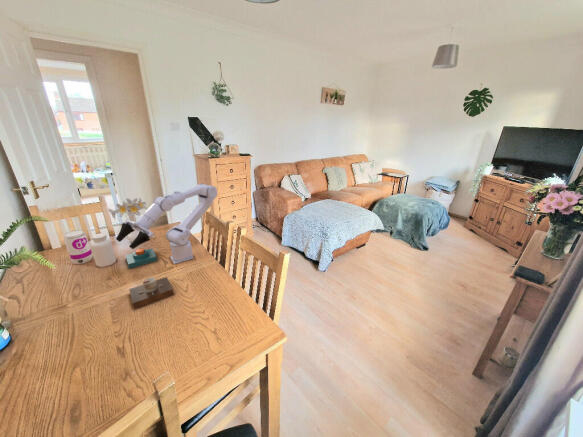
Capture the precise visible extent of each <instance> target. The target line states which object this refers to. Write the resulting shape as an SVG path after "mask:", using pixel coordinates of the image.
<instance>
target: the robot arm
mask: <svg viewBox="0 0 583 437" xmlns="http://www.w3.org/2000/svg"><path fill="white" fill-rule="evenodd" d="M195 196H197V198H198V200H199V203H198V204H197V205H196V206H195V207H194V208H193V209H192V210H191V212H189V214H188V215H187V216H186V217H185V218H184V219H183V220H182V221H181V223H180V224H179V223H178V224H176V225H174V226H173V227H172V228H170V229H168V230H167V231H166V234H165V239H166V240H167V241H168V242H169V247H170V252H171V256H169V258H170V260H171V261H172V263H173V264H174V265H176V264H179V263H183V262H187V261H189V260H193V259H194V254H193V247H192V243H191V241H190V240H189V239H190V237H191V235H192V234H191V230H192V229H193V227H194V226H195V225H196V224H197V223H198V222H199V220H200V219H201V218H202V217H203V216H204V215H205V213H206V212H207V211H209V209H210V208H211V206H212V204H213V202H214V200H215V199H216V198H217V197H218V189H217V187H216V186H215V185H209V184H204V183H199V184H196V185H195V186H193V187H191V188H189V189H187V190H184V191H179V190H174V191H173V193H170V194H165V195H164V196H158V197H154V198H153V200H152V204H151V205H150V206H149V207H148V210H147V209H146V210H145V212H144V213H143V214H142V215H140V216H139V218H138V219H136V222H133V221H130V220H129V218H128V219H126V220H125V221H124V222H122V224H121V228H120V230H119V232H118V234H117V236H116V237H115V240H116V241H117V242H119V243H120V242H122V241H123V240H124V239H126V238H127V235H128V234H130V233H131V232H133V231H135V230H134V229H136V230H138V231H140V232H139V234H138V236H137V237H136V239H135V240H134V241H133V242H131V243H130V245H129V248H130V249H131V250H134V249H136V248H137V247H139V246H140V245H142V244H145V243H146V242H150V241H151V239H152V238H153V237H154V236H155V233H154V232H153V231H151V230H150V229H151V228H152V226H153V225H154V224H155V223H156V222H157V221H158V220H159V219H160V218H161V217H162V216H163V215H164V214H165V212H170V211H172V210H173V208H174V207H175V206H178V205H181V204H183V203H185V201H186V199H189V198H192V197H195ZM132 228H134V229H132ZM137 228H138V229H137ZM139 229H140V230H139Z"/></svg>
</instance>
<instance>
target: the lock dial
mask: <svg viewBox="0 0 583 437" xmlns="http://www.w3.org/2000/svg"><path fill="white" fill-rule="evenodd" d="M156 280H157V279H156V278H155V277H147V278H146V279H144V280H143V281H142V285H144V289H145V292H148V293H149V292H153V291H155V290H156V289H157V284H156Z"/></svg>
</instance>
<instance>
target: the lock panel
mask: <svg viewBox="0 0 583 437" xmlns="http://www.w3.org/2000/svg"><path fill="white" fill-rule="evenodd" d="M156 284H157V289H156V290H155V291H153V292H149V293H148V292H145V289H144V285H143V284H140V285H137V286H135V287H132V288H129V289H128V290H129V295H130V299H131V302H132V306H133V310H137V309H140V308H143V307H145V306H148V305H150V304H153V303H156V302H158V301H159V302H160V301H161V300H164V299H167V298H169V297H172V296H174V295H175V293H174V288H173V286H172V285H171V282H170V280H169V278H168V276H166V277H162V278H159V279H156Z"/></svg>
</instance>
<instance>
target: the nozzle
mask: <svg viewBox="0 0 583 437" xmlns="http://www.w3.org/2000/svg"><path fill="white" fill-rule="evenodd" d="M134 252H136V255H141V254H143V253H144V248H141V247H140V248H137V249H135V251H134Z"/></svg>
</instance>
